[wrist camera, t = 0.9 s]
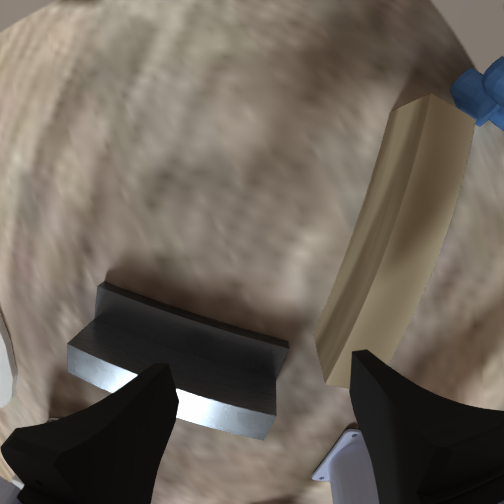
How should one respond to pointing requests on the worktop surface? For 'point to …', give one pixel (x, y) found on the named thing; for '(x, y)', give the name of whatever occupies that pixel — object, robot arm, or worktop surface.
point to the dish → (6, 367)
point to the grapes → (482, 94)
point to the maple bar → (395, 234)
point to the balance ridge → (182, 360)
